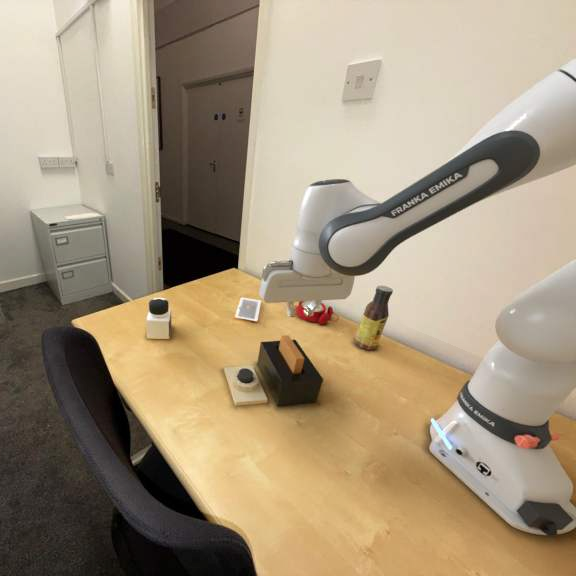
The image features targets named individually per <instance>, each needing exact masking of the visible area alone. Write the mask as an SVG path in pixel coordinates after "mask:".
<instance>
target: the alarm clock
mask: <svg viewBox="0 0 576 576" xmlns="http://www.w3.org/2000/svg"><path fill="white" fill-rule="evenodd" d="M311 302H312V301H300V302H298V305H291V307H294V308H295V310H296V311H297V312H296V314H295V315H296V316H297V317H298V318H300V319H302V320H304V321H307V322H311V323H318V324H320V325H326V324H327V323H328V322H333V320H331V318H332V316H333V315H334V316H336V317H337V319H336V320H334V322H337V321H338V320H339V318H340V317H339V315H338V314H335V312H334V309H333V307H332V306H328V307H327V308H326V305H325V304H324V303H323V302H321V304H320V305H319V306H318V307H317V308H316V309H315V310H314V313H313V316H306V315H305V314H304V310H305V309H304V308H305V307H306V306H309V304H310V303H311Z"/></svg>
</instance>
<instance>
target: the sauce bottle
mask: <svg viewBox="0 0 576 576" xmlns="http://www.w3.org/2000/svg"><path fill="white" fill-rule="evenodd" d="M393 293H394V290H393V288H391V287H389V286H386V285H377V286H376V288H375V293H374V297H373V299H372V301H370V302H369V303H368V304H366V306H365V308H364V312H363V314H362V316H361V320H360V323H359V325H358V328H357V331H356V335H355V339H354V343H355V344H356V346H357V347H358V348H361V349H363V350H367V351H371V350H375V349H376V348H377V346H378V345H379V343H380V340H381V337H382V334H383V331H384V329H385V326H386V323H387V321H388V319H389V301H390V299H391V296H392V295H393Z"/></svg>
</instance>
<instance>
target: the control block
mask: <svg viewBox="0 0 576 576" xmlns="http://www.w3.org/2000/svg"><path fill="white" fill-rule="evenodd" d="M243 368H246V369H249V370H251V371H252V372H253V379H252V382H250V383H247V384H246V383H242V382H241V381H240V380H239V379H238V375H239V371H240V370H241V369H243ZM223 372H224V375H225V378H226V381H227V384H228V387H229V390H230V393H231V397H232V400H233V403H234V406H246V405H247V406H248V405H256V404H257V405H258V404H267V403H268V397H267V395H266V393H265V391H264V388H263V385H262V383H261V381H260V379H259V378H260V377H258V374H257V373H256V370H255V368H254V366H253V365H240V366H228V367H224V369H223Z"/></svg>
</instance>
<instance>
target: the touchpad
mask: <svg viewBox="0 0 576 576" xmlns="http://www.w3.org/2000/svg"><path fill="white" fill-rule="evenodd" d="M261 303H262V300H261V299H254V298H248V297H242V296H241V297H240V299H239V302H238V305H237V308H236V312H235V315H234V318H237V319H242V320H247V321H254V322H258V319H259V314H260V309H261Z"/></svg>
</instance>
